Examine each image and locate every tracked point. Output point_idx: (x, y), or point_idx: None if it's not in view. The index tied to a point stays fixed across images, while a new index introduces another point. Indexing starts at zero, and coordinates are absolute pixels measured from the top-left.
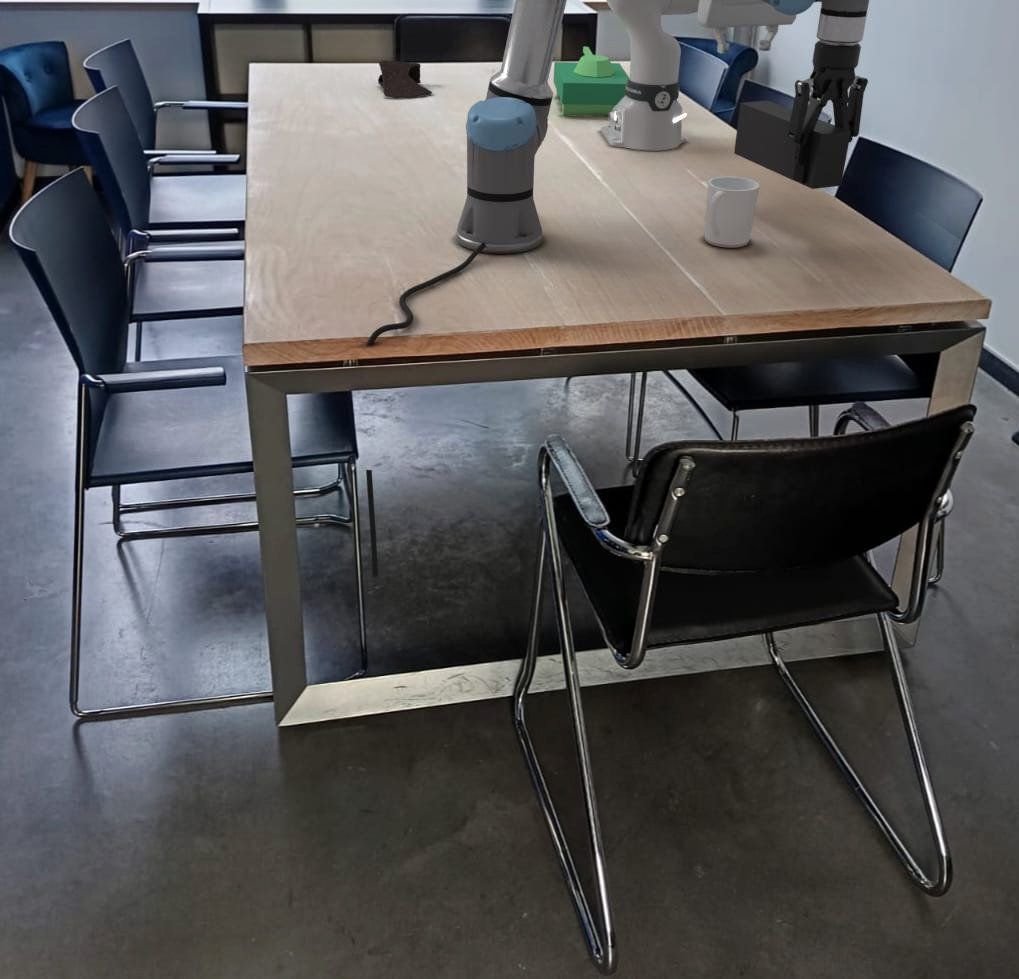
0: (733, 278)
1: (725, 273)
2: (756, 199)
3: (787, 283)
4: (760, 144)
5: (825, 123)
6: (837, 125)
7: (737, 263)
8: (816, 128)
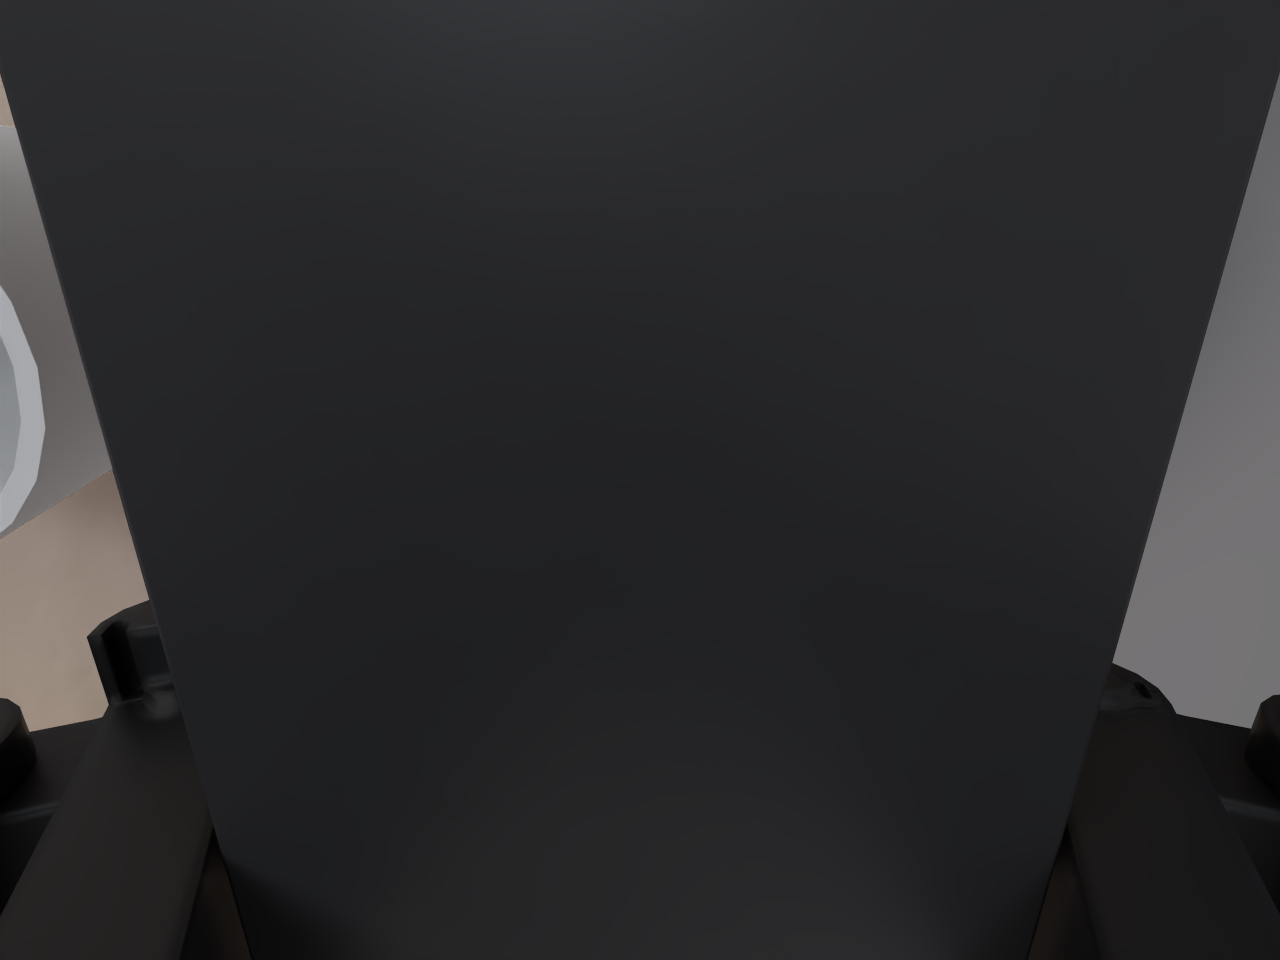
0: (22, 710)
1: (2, 657)
2: (84, 480)
3: None
4: None
5: (992, 674)
6: (1050, 936)
7: (99, 577)
8: (443, 952)
